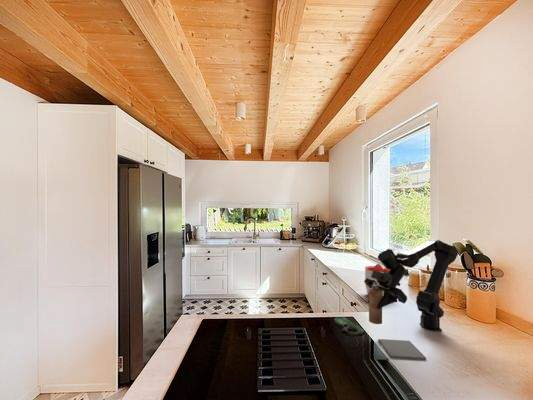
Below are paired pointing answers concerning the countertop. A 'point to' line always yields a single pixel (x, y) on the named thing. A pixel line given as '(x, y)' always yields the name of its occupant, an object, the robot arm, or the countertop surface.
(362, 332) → the gun
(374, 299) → the pepper mill
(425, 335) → the countertop surface
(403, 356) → the trivet mat
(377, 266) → the citrus juicer
